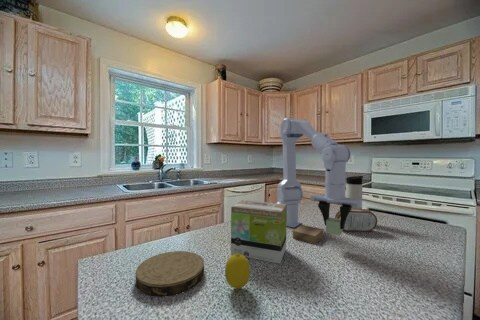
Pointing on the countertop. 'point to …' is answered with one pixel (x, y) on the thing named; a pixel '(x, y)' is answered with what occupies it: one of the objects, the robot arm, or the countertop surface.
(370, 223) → the tin
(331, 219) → the sage cube
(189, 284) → the wooden coaster disc
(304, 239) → the walnut block
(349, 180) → the travel mug
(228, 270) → the lemon
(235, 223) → the tea box
